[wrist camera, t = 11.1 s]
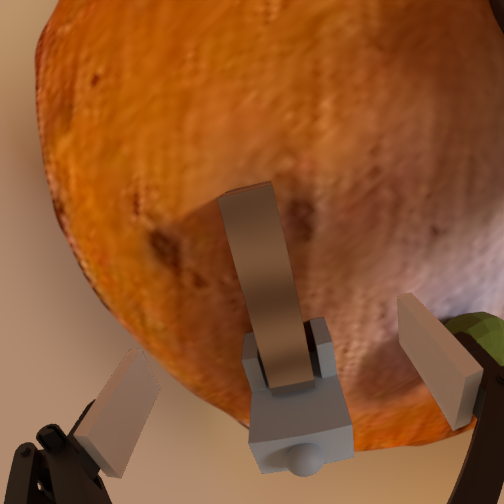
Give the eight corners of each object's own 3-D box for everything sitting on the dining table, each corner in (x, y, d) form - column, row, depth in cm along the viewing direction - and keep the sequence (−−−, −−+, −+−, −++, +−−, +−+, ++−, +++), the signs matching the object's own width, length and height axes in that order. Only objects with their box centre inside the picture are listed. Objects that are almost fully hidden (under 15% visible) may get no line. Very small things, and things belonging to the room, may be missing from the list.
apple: (465, 277, 30) (516, 312, 20) (491, 328, 32) (532, 366, 22) (399, 340, 32) (434, 393, 23) (433, 382, 34) (464, 430, 25)
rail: (228, 191, 29) (216, 198, 22) (270, 180, 28) (272, 185, 22) (271, 354, 33) (272, 396, 27) (307, 347, 33) (315, 387, 26)
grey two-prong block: (244, 333, 33) (231, 434, 19) (323, 316, 32) (356, 412, 18) (263, 394, 35) (261, 493, 21) (333, 380, 34) (359, 476, 20)
